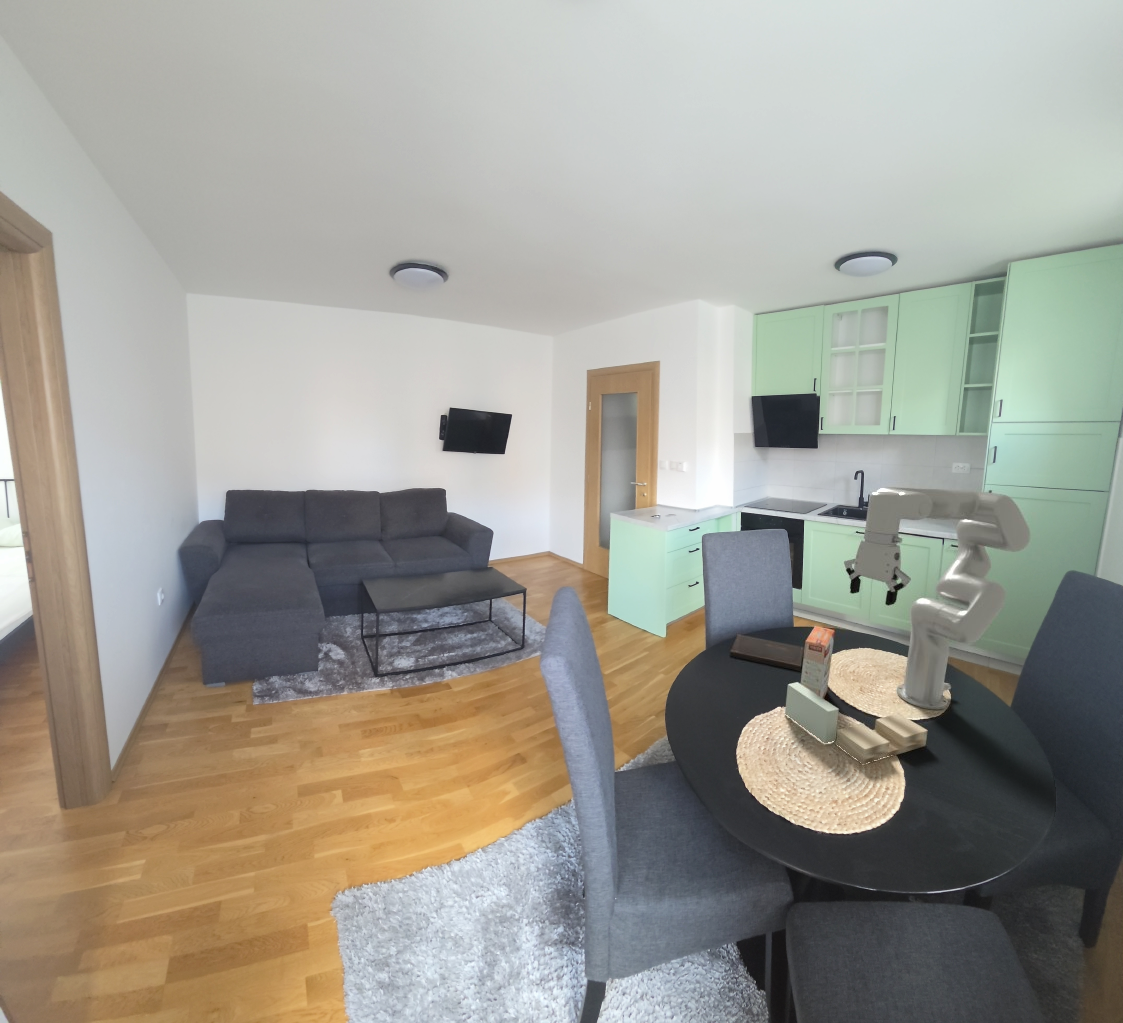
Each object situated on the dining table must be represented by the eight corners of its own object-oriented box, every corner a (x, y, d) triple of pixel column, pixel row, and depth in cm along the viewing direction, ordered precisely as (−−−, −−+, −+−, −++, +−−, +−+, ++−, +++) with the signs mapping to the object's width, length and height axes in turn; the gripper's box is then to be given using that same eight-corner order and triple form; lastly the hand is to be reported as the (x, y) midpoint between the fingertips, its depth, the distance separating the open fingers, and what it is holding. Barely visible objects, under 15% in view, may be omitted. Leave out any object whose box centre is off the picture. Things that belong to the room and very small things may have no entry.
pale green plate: (794, 713, 146) (797, 682, 144) (834, 743, 133) (838, 708, 131) (784, 715, 145) (787, 684, 143) (824, 745, 132) (828, 711, 130)
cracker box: (819, 712, 146) (826, 646, 142) (797, 705, 150) (803, 640, 145) (828, 691, 157) (835, 629, 153) (808, 685, 160) (814, 624, 156)
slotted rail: (896, 727, 139) (898, 713, 138) (925, 745, 131) (927, 730, 131) (835, 745, 132) (837, 730, 131) (862, 765, 124) (864, 749, 123)
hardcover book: (737, 639, 194) (737, 634, 193) (803, 653, 183) (803, 647, 183) (729, 657, 180) (730, 651, 179) (800, 672, 169) (800, 666, 169)
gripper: (923, 544, 128) (913, 607, 132) (857, 529, 143) (849, 586, 147) (906, 547, 125) (896, 611, 128) (841, 532, 140) (833, 590, 143)
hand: (871, 598), depth 137 cm, fingers open, 9 cm apart
